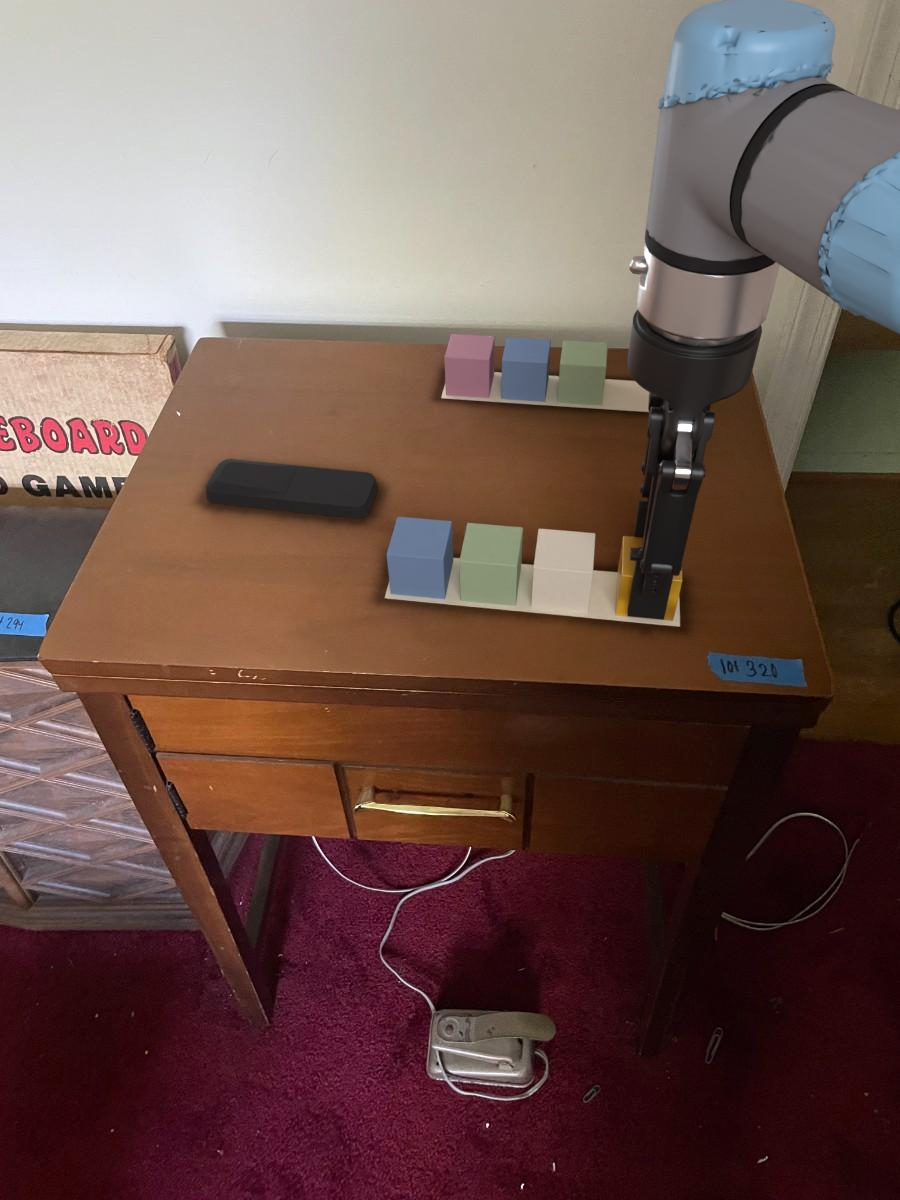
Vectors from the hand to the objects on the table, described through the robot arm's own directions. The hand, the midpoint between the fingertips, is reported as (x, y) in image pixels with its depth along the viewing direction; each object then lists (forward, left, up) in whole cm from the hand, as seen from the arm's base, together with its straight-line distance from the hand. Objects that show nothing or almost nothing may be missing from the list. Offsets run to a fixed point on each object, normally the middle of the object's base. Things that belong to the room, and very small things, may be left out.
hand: (645, 590), depth 70 cm
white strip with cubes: (+8, +6, -1) cm, 9 cm away
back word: (+24, -17, -1) cm, 30 cm away
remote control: (+31, +11, -1) cm, 32 cm away
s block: (0, 0, -1) cm, 1 cm away
